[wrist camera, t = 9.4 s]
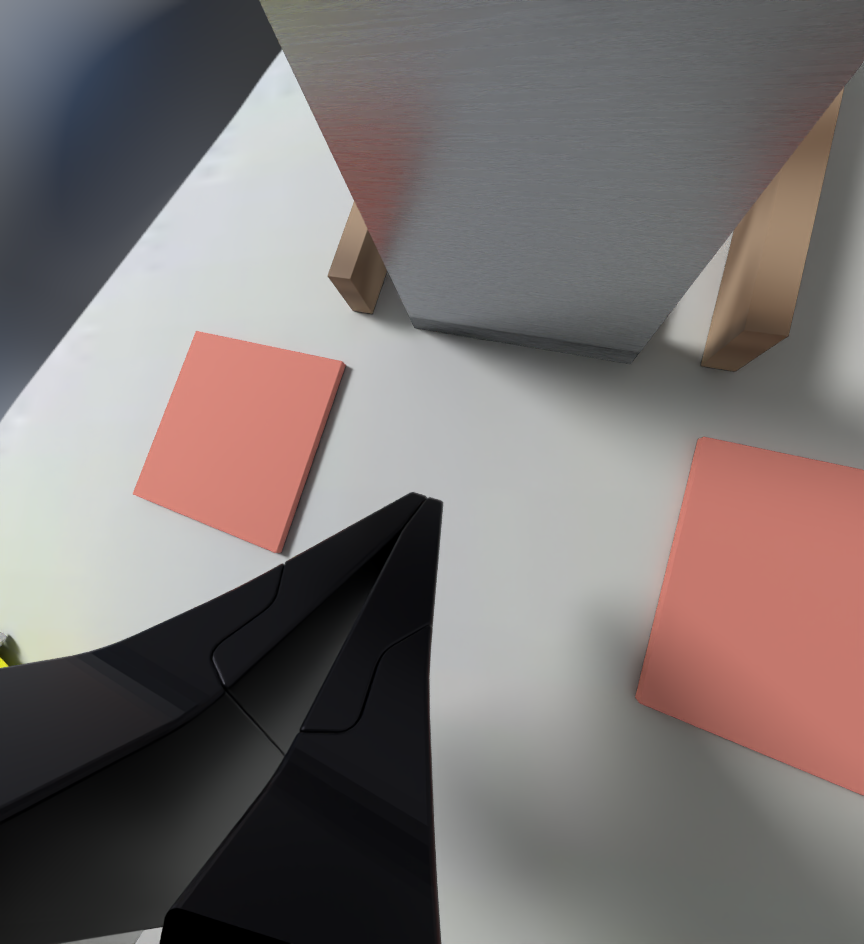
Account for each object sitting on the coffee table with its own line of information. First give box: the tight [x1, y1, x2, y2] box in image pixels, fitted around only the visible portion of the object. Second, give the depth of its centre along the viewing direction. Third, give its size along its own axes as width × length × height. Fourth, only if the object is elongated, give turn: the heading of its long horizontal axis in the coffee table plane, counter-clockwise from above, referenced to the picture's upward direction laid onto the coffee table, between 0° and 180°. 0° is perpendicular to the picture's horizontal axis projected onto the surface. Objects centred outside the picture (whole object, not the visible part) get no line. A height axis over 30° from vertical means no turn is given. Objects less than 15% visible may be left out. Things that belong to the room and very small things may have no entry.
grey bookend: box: [259, 0, 864, 364], centre depth 10 cm, size 12×10×11 cm
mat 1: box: [133, 331, 346, 553], centre depth 18 cm, size 10×10×1 cm
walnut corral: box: [328, 88, 844, 371], centre depth 14 cm, size 15×17×2 cm
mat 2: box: [635, 437, 864, 796], centre depth 11 cm, size 10×10×1 cm
